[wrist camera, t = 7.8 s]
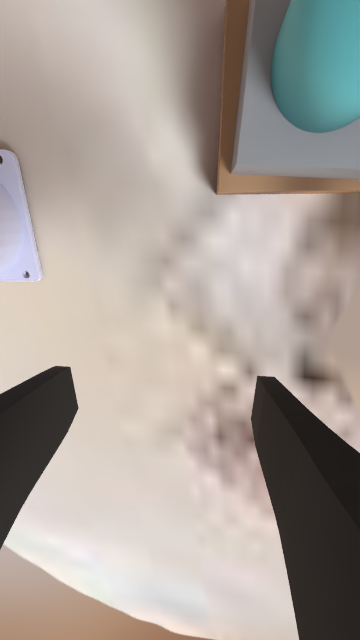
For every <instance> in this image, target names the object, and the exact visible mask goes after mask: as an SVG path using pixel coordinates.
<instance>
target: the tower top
mask: <svg viewBox="0 0 360 640" xmlns="http://www.w3.org/2000/svg"><path fill="white" fill-rule="evenodd" d="M290 2H291V0H249V8H248V17H247V27H246V36H245V45H244V54H243V63H242V72H241V82H240V91H239V100H238V109H237V118H236V127H235V137H234V146H233V155H232V164H231V173H230V174H240V175H265V176H290V177H315V178H340V179H360V118H358V119H357V120H355V121H354V122H352V123H350V124H349V125H347V126H345V127H343V128H340V129H338V130H334V131H331V132H325V133H313V132H307V131H304V130H301V129H299V128H297V127H295V126H294V125H293V124H291V123H290V122H289V121H288V120H287V119H286V118H285V117H284V116H283V114H282V113H281V112H280V110H279V108H278V106H277V104H276V102H275V99H274V96H273V91H272V86H271V61H272V55H273V50H274V46H275V43H276V40H277V37H278V34H279V31H280V29H281V26H282V23H283V21H284V18H285V15H286V12H287V10H288V7H289V4H290Z"/></svg>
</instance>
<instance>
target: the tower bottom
mask: <svg viewBox="0 0 360 640" xmlns="http://www.w3.org/2000/svg"><path fill="white" fill-rule="evenodd" d="M248 8H249V0H226V7H225V21H224V42H223V63H222V84H221V105H220V126H219V147H218V168H217V189H216V195H222V194H318V193H356V192H360V179H340V178H315V177H290V176H265V175H240V174H230V173H231V164H232V155H233V146H234V137H235V127H236V118H237V109H238V100H239V91H240V82H241V72H242V63H243V54H244V45H245V36H246V27H247V17H248Z"/></svg>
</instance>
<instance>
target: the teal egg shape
mask: <svg viewBox="0 0 360 640" xmlns="http://www.w3.org/2000/svg"><path fill="white" fill-rule="evenodd" d="M271 86H272V91H273V96H274V99H275V102H276V104H277V106H278V108H279V110H280V112H281V113H282V114H283V116H284V117H285V118H286V119H287V120H288V121H289V122H290V123H291V124H293V125H294V126H295V127H297V128H299V129H301V130H304V131H307V132H313V133H325V132H331V131H334V130H338V129H340V128H343V127H345V126H347V125H349V124H350V123H352V122H354V121H355V120H357V119H358V118H360V0H291V2H290V4H289V7H288V10H287V12H286V15H285V18H284V21H283V23H282V26H281V29H280V31H279V34H278V37H277V40H276V43H275V46H274V50H273V55H272V61H271Z"/></svg>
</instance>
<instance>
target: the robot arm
mask: <svg viewBox="0 0 360 640" xmlns="http://www.w3.org/2000/svg"><path fill="white" fill-rule="evenodd" d="M0 156H1V157H2V159H3V162H2V164H1V163H0V281H23V282H36V281H39V280H41V279H42V270H41V265H40V260H39V256H38V251H37V246H36V242H35V237H34V232H33V227H32V223H31V218H30V213H29V209H28V204H27V199H26V194H25V190H24V185H23V180H22V176H21V171H20V166H19V162H18V158H17V156H16V155H15V154H14V153H13V152H12V151H9V150H5V149H3V150H0ZM26 271H27V272H28V273H29V275H30V277H28V276H27V274H26ZM77 410H78V404H77V399H76V394H75V389H74V384H73V379H72V374H71V368H70V367H63V366H55V367H52V368H50V369H48V370H46V371H44V372H42V373H40V374H38V375H36V376H34V377H32V378H30V379H28V380H26V381H24V382H22V383H21V384H19V385H17V386H15V387H13V388H11V389H9V390H7V391H5V392H4V393H2V394H0V549H1V547H2V545H3V543H4V541H5V539H6V537H7V535H8V533H9V531H10V529H11V527H12V525H13V523H14V521H15V519H16V517H17V515H18V514H19V512H20V510H21V508H22V506H23V504H24V503H25V501H26V499H27V497H28V496H29V494H30V492H31V491H32V489H33V487H34V486H35V484H36V482H37V481H38V479H39V478H40V476H41V474H42V473H43V471H44V470H45V468H46V466H47V465H48V463H49V462H50V460H51V458H52V457H53V455H54V454H55V452H56V450H57V449H58V447H59V445H60V444H61V442H62V441H63V439H64V437H65V436H66V434H67V432H68V430H69V428H70V426H71V424H72V422H73V419H74V417H75V415H76V412H77ZM251 421H252V428H253V434H254V440H255V446H256V450H257V453H258V457H259V460H260V464H261V468H262V471H263V475H264V478H265V482H266V485H267V489H268V492H269V496H270V499H271V503H272V506H273V510H274V513H275V517H276V521H277V525H278V529H279V534H280V539H281V544H282V549H283V554H284V559H285V564H286V569H287V574H288V580H289V585H290V590H291V596H292V601H293V607H294V612H295V618H296V623H297V629H298V635H299V640H360V453H359V452H358V451H356V450H355V449H354V448H353V447H351V446H350V445H349V444H348V443H346V442H345V441H344V440H343V439H342V438H340V437H339V436H338V435H337V434H336V433H334V432H333V431H332V430H331V429H330V428H328V427H327V426H326V425H325V424H324V423H323V422H322V421H320V420H319V419H318V418H317V417H316V416H315V415H314V414H313V413H312V412H311V411H309V410H308V409H307V408H306V407H305V406H304V405H303V404H302V403H301V402H300V401H299V400H298V399H297V398H296V397H295V396H294V395H293V394H292V393H291V392H290V391H288V390H287V389H286V388H285V387H284V386H283V385H282V384H281V383H280V382H279V381H278V380H277V379H276V378H275V377H266V376H257V382H256V389H255V396H254V403H253V409H252V416H251Z"/></svg>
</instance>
